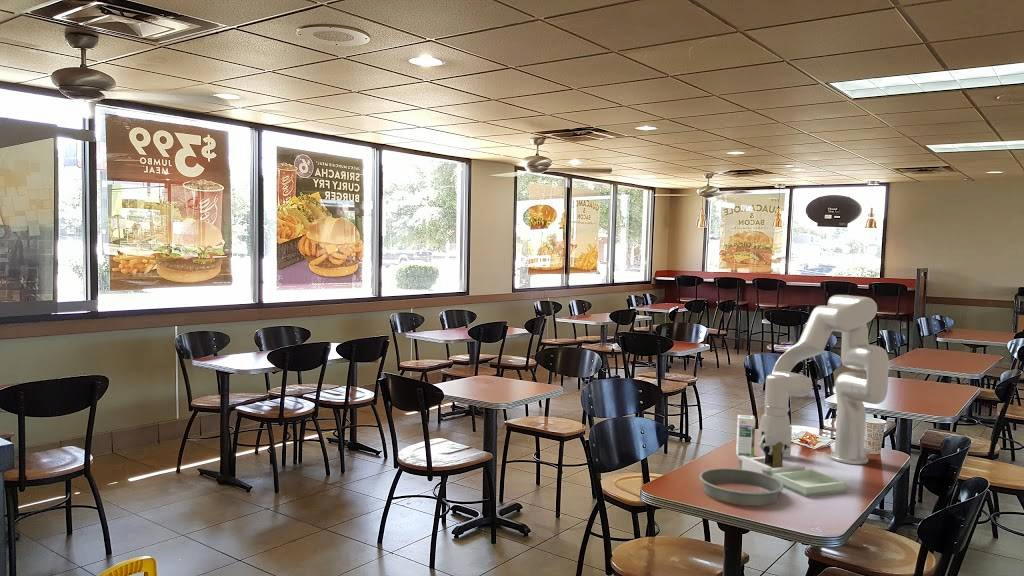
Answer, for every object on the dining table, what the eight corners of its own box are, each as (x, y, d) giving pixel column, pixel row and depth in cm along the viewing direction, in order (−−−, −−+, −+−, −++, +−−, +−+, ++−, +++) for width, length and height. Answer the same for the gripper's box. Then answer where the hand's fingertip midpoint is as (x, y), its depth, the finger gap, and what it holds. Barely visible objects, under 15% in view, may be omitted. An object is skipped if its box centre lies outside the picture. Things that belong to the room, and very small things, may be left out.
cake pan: (801, 502, 218) (802, 487, 218) (738, 513, 207) (739, 497, 207) (741, 477, 240) (742, 464, 240) (682, 486, 229) (682, 472, 229)
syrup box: (737, 457, 263) (739, 417, 262) (735, 452, 268) (737, 413, 268) (753, 458, 261) (755, 418, 261) (752, 454, 267) (754, 415, 266)
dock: (774, 463, 256) (775, 452, 256) (804, 475, 243) (805, 463, 243) (737, 467, 250) (738, 455, 250) (766, 479, 237) (766, 467, 237)
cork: (773, 474, 243) (775, 442, 243) (760, 469, 248) (761, 437, 248) (786, 472, 246) (788, 440, 245) (772, 467, 251) (774, 436, 251)
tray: (811, 478, 241) (811, 469, 240) (845, 491, 228) (845, 482, 227) (772, 482, 235) (773, 473, 234) (805, 497, 222) (805, 487, 221)
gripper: (787, 407, 253) (784, 460, 254) (748, 410, 246) (746, 464, 247) (803, 412, 246) (800, 466, 247) (764, 415, 239) (761, 470, 240)
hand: (773, 464), depth 247 cm, fingers closed on cork, 3 cm apart
